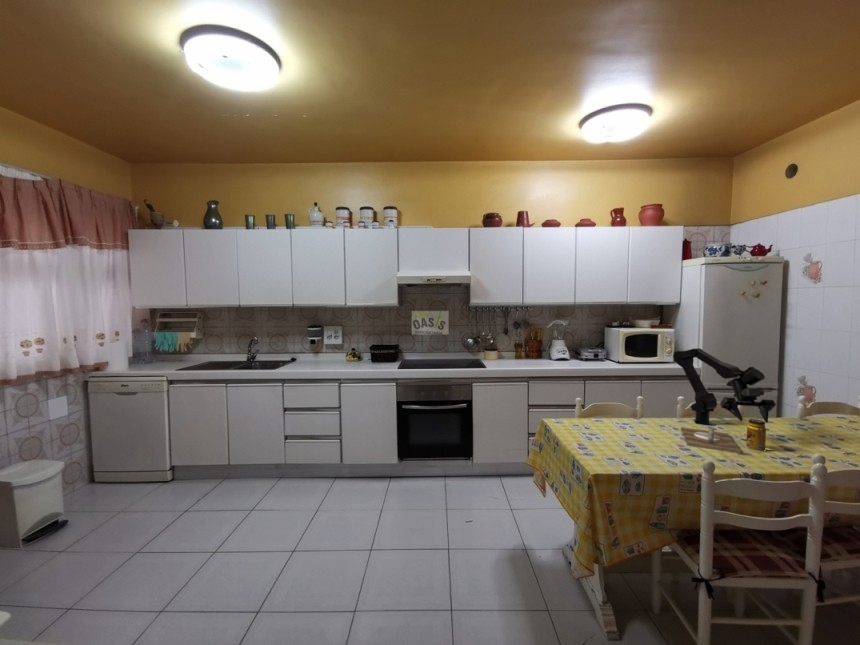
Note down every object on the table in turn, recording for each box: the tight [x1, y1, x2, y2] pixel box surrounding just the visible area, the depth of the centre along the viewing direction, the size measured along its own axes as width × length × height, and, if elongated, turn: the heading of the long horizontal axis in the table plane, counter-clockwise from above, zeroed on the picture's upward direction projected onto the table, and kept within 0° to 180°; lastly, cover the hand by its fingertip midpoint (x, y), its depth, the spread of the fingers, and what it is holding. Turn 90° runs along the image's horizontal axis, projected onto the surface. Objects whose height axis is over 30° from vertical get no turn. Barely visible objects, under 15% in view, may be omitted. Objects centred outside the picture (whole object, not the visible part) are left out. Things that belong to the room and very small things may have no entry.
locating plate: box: [680, 427, 741, 454], centre depth 167 cm, size 22×18×7 cm
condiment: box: [741, 418, 769, 453], centre depth 158 cm, size 7×8×12 cm
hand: (754, 421), depth 161 cm, fingers open, 9 cm apart
